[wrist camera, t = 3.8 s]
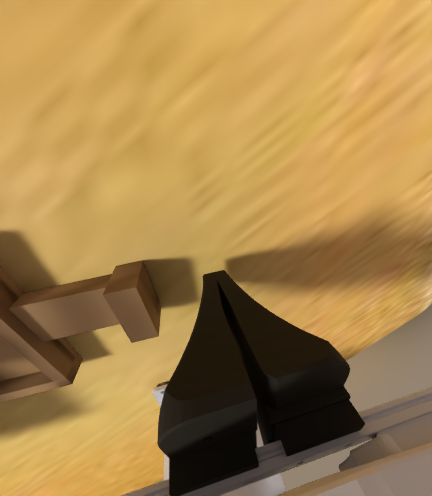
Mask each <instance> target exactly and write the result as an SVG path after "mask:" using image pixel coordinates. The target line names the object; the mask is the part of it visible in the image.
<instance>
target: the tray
mask: <svg viewBox="0 0 432 496" xmlns="http://www.w3.org/2000/svg"><path fill="white" fill-rule="evenodd" d="M160 314H161V305H160V302H159V300H158V297H157V295H156V292H155V290H154V287H153V285H152V282H151V280H150V277H149V275H148V272H147V270H146V267H145V265H144V262H143V261H140V262H135V263H130V264H125V265H120V266H116V267H115V269H114V271H113V274H112V275H107V276H102V277H98V278H93V279H88V280H83V281H78V282H74V283H69V284H64V285H59V286H55V287H50V288H45V289H41V290H36V291H32V292H27V293H23V292H22V291H21V290H20V288H19V287H18V286H17V285H16V284H15V283H14V282H13V281H12V280H11V279H10V277H9V276H8V275H7V274H6V273H5V272H4V271H3V270H2V269H1V267H0V403H1V402H4V401H8V400H12V399H16V398H20V397H24V396H28V395H31V394H35V393H39V392H43V391H47V390H51V389H55V388H59V387H62V386H66V385H70V384H72V383H73V381H74V379H75V376H76V374H77V371H78V369H79V367H80V364H81V362H82V360H83V358H82V357H81V356H80V355H79V354H78V353H77V352H76V350H75V349H74V348H73V347H72V346H71V345H70V344H69V343H68V342H67V341H66V339H65V338H64V337H66V336H71V335H75V334H79V333H83V332H88V331H92V330H96V329H100V328H105V327H109V326H113V325H117V324H121V326H122V328H123V329H124V331H125V332H126V334H127V336H128V337H129V339H130V341H131V342H132V343H133V342H137V341H141V340H145V339H149V338H153V337H158V336H159V326H160Z"/></svg>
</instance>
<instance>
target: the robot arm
mask: <svg viewBox="0 0 432 496" xmlns="http://www.w3.org/2000/svg"><path fill="white" fill-rule="evenodd" d="M349 372H350V367H349V365H348V363H347V362H346V361H345V359H344V358H343V357H342V356H341V354H340V353H339V352H338V351H337V350H336V349H335V348H334V347H333V346H332V345H331V344H330V343H329V342H328V341H326V340H324V339H321V338H319V337H317V336H315V335H312V334H310V333H308V332H305V331H303V330H301V329H299V328H297V327H296V326H294V325H292V324H290V323H288V322H287V321H285V320H283V319H281V318H280V317H278V316H276V315H275V314H273V313H272V312H270V311H269V310H267V309H266V308H264V307H263V306H262V305H260V304H259V303H258V302H256V301H255V300H254V299H253V298H251V297H250V296H249V295H248V294H247V293H246V292H244V291H243V290H242V289H241V288H240V287H239V286H238V285H237V284H236V283H235V282H234V281H233V280H232V279H231V278H230V276H229V275H228V274H227V273H226V271H224V270H222V271H217V272H213V273H209V274H204V275H203V292H202V298H201V304H200V308H199V312H198V316H197V319H196V323H195V326H194V329H193V332H192V334H191V337H190V340H189V342H188V344H187V347H186V349H185V351H184V353H183V355H182V358H181V360H180V362H179V364H178V366H177V368H176V370H175V372H174V373H173V375H172V377H171V379H170V381H169V383H168V384H165V385H162V386H158V387H156V388H154V389H153V393H152V394H153V396H154V398H155V399H156V401H157V402H158V403H159V405H160V406H161V408H160V415H159V422H158V446H159V448H160V449H161V450H162V451H163V452H164V481H161V482H159V483H156V484H153V485H150V486H147V487H144V488H141V489H139V490H136V491H133V492H130V493H127V494H124V495H121V496H432V387H429V388H426V389H424V390H421V391H418V392H415V393H412V394H409V395H407V396H404V397H401V398H398V399H395V400H392V401H389V402H387V403H384V404H381V405H378V406H375V407H372V408H370V409H367V410H364V411H361V412H357V411H356V409H355V408H354V406H353V405H352V403H351V402H350V401H349V399H350V395H349V393H348V392H347V390H346V389H345V388H344V384H345V382H346V380H347V377H348V375H349ZM370 439H372V440H371V441H368V442H366V443H365V444H363V445H361V446H359V447H357V448H355V449H353V450H351V451H350V456H349V457H348V458H347V459H346V460H345V461H344V462H343V463H341V464H340V465H339V469H340V471H341V472H338V473H335V474H332V475H329V476H326V477H323V478H321V479H318V480H315V481H312V482H310V483H307V484H304V485H302V486H300V487H297V488H294V489H292V490H289V491H287V492H285V489H284V485H283V480H282V477H281V473H282V472H284V471H287V470H290V469H292V468H295V467H297V466H300V465H303V464H306V463H308V462H311V461H314V460H316V459H319V458H322V457H325V456H327V455H330V454H333V453H335V452H338V451H340V450H343V449H346V448H349V447H351V446H354V445H357V444H359V443H362V442H365V441H367V440H370Z"/></svg>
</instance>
